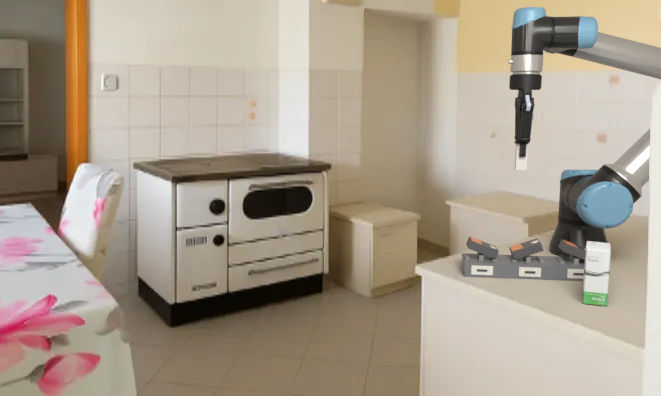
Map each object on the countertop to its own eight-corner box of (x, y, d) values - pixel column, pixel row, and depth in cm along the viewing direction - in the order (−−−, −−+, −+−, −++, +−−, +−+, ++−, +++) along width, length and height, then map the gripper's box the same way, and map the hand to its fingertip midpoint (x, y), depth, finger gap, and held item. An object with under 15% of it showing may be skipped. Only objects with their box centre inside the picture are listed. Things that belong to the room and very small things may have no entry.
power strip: (585, 270, 155) (586, 252, 154) (596, 281, 146) (597, 262, 145) (461, 266, 159) (462, 248, 158) (464, 276, 150) (465, 257, 149)
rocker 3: (585, 257, 152) (589, 249, 152) (591, 262, 148) (595, 254, 147) (558, 246, 153) (561, 238, 152) (563, 251, 148) (566, 243, 148)
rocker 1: (492, 253, 155) (496, 246, 155) (495, 259, 150) (499, 251, 150) (466, 243, 156) (469, 235, 155) (467, 248, 151) (471, 240, 150)
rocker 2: (539, 245, 153) (536, 237, 153) (543, 250, 149) (541, 242, 148) (511, 254, 155) (508, 246, 154) (514, 259, 150) (511, 251, 150)
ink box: (607, 307, 129) (612, 251, 127) (581, 304, 130) (585, 248, 129) (606, 294, 136) (610, 241, 135) (582, 292, 138) (585, 239, 136)
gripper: (506, 74, 160) (501, 166, 164) (514, 72, 148) (509, 172, 151) (536, 74, 159) (531, 167, 163) (547, 72, 147) (541, 173, 151)
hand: (520, 169), depth 157 cm, fingers closed
